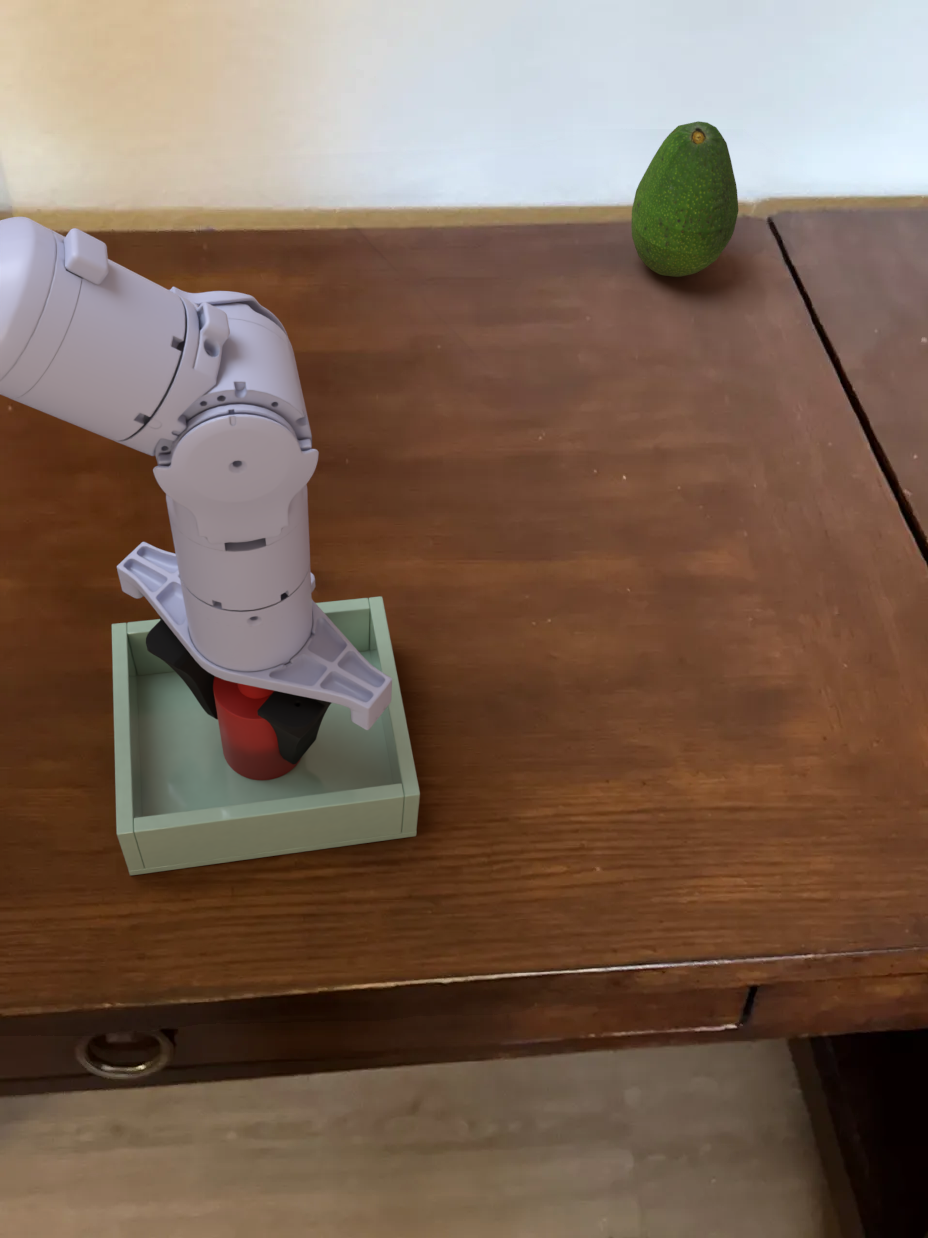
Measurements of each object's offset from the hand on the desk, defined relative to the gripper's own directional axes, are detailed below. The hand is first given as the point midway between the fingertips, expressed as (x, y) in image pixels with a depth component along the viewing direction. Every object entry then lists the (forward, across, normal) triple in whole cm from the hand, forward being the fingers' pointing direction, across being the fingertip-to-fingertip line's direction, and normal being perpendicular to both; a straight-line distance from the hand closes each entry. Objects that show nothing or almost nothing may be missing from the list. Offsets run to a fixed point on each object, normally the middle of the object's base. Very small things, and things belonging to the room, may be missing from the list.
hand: (262, 726), depth 64 cm
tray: (+2, 0, 0) cm, 2 cm away
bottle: (+2, 0, 0) cm, 2 cm away
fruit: (+3, 0, -52) cm, 52 cm away
